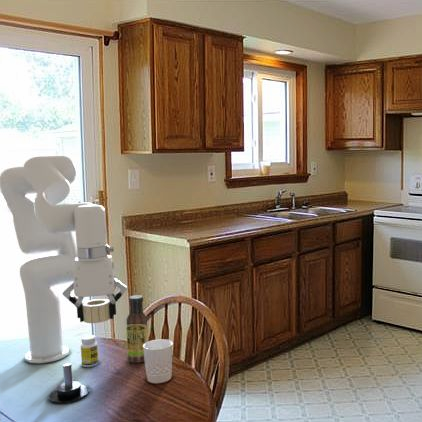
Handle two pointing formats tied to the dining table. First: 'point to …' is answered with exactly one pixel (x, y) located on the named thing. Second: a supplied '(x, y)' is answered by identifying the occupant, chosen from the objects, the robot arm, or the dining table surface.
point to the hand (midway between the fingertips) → (97, 318)
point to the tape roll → (96, 311)
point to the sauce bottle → (136, 330)
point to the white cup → (158, 360)
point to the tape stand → (68, 389)
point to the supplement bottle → (89, 351)
